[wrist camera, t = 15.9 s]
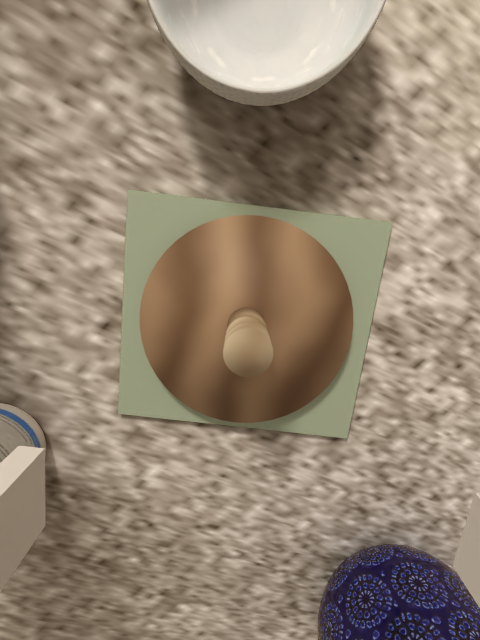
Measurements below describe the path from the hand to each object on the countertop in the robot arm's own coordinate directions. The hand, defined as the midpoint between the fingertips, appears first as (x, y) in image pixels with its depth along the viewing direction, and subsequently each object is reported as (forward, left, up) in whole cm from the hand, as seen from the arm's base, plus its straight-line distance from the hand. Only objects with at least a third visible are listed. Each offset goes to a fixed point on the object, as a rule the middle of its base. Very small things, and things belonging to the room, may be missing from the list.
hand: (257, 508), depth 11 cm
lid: (0, 0, -24) cm, 24 cm away
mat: (0, 0, -24) cm, 25 cm away
